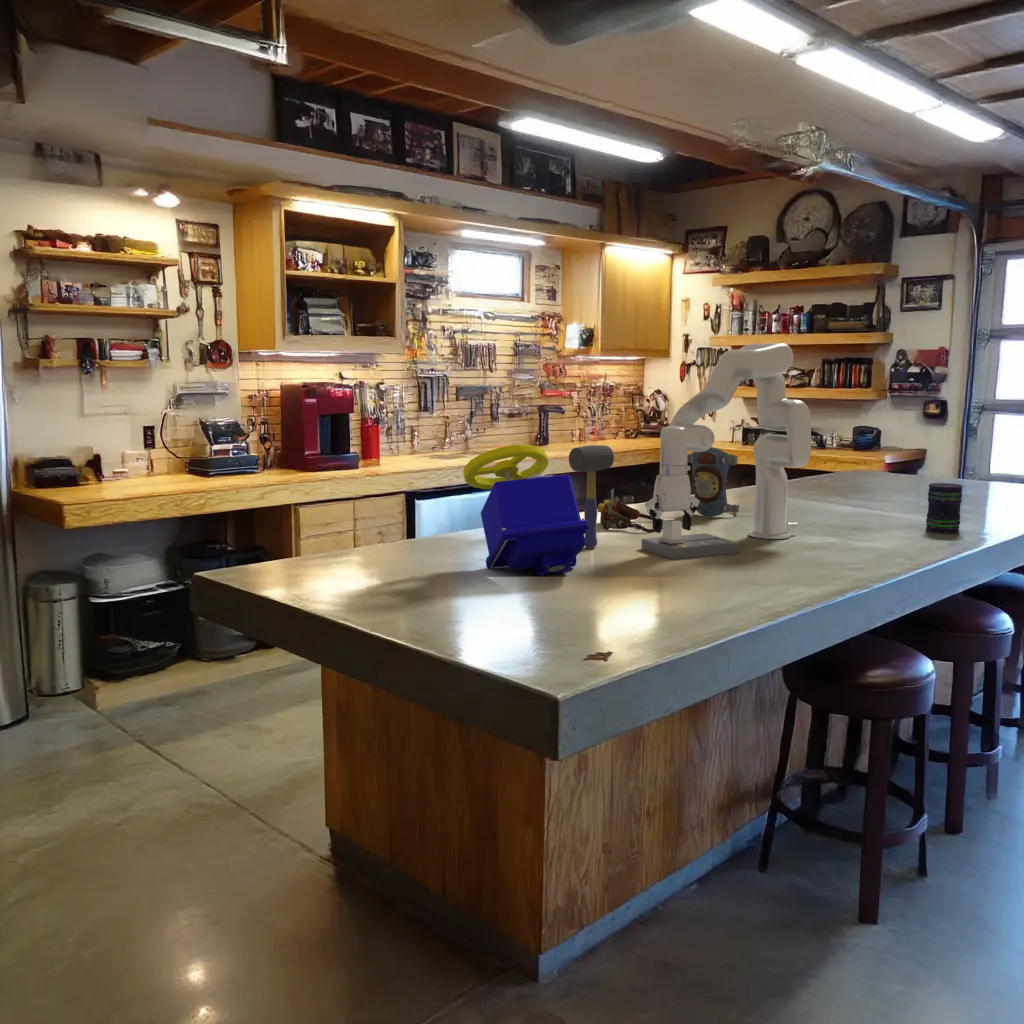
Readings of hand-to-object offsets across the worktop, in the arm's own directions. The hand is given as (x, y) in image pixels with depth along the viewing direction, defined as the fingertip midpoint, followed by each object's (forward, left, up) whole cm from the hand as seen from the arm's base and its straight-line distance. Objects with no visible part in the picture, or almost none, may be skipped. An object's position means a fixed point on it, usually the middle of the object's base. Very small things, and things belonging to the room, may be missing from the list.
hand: (671, 530), depth 253 cm
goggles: (-11, -42, -7) cm, 44 cm away
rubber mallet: (+18, -15, -6) cm, 24 cm away
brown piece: (+56, +69, -7) cm, 89 cm away
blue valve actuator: (+48, +5, -7) cm, 49 cm away
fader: (0, 0, -3) cm, 3 cm away
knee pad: (-50, -52, -6) cm, 72 cm away
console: (-6, 0, -6) cm, 9 cm away
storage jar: (-98, +5, -6) cm, 98 cm away
